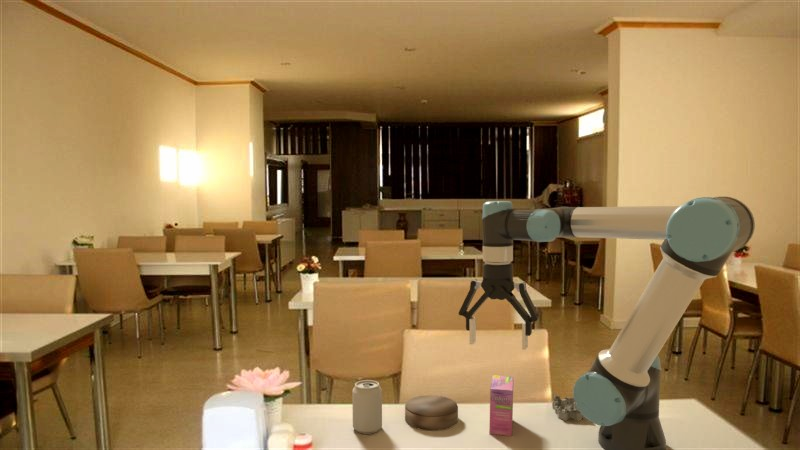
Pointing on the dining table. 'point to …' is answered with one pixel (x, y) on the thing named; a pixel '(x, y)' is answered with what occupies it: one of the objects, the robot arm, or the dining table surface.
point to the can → (367, 406)
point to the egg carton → (566, 408)
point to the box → (501, 405)
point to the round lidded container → (431, 413)
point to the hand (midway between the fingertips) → (498, 345)
